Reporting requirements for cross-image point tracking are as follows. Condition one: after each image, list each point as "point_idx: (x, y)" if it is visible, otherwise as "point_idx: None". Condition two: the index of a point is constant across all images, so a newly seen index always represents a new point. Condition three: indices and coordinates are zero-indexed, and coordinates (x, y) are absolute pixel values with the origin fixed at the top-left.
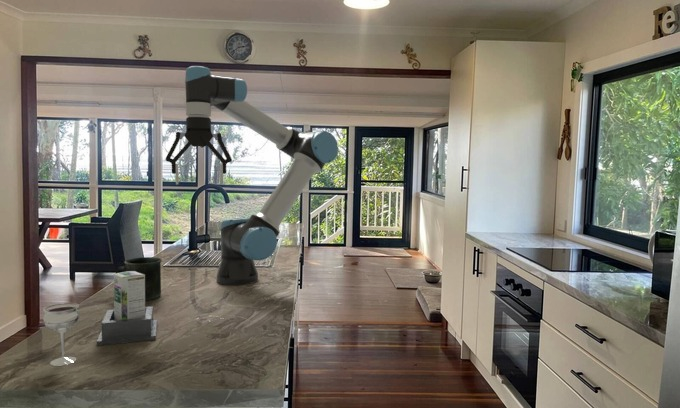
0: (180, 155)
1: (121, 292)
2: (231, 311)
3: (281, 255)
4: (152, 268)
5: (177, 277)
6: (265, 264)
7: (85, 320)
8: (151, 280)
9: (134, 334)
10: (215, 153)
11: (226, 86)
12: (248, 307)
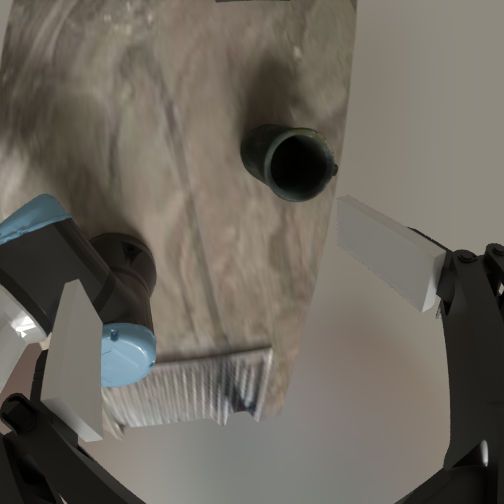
0: (473, 308)
1: None
2: (91, 53)
3: None
4: (274, 138)
5: (235, 284)
6: None
7: (323, 39)
8: (265, 133)
9: None
10: (115, 502)
11: None
12: (62, 79)
